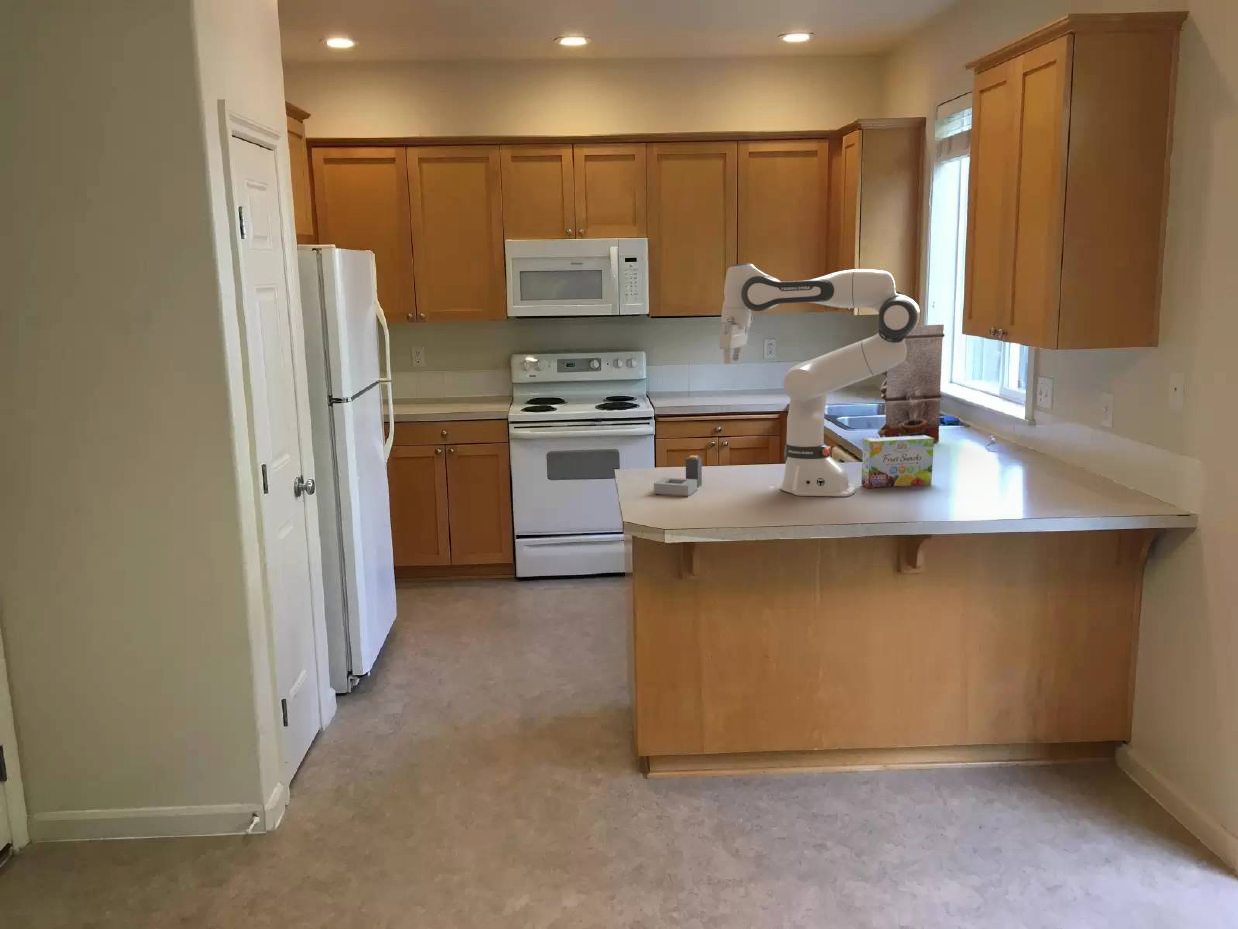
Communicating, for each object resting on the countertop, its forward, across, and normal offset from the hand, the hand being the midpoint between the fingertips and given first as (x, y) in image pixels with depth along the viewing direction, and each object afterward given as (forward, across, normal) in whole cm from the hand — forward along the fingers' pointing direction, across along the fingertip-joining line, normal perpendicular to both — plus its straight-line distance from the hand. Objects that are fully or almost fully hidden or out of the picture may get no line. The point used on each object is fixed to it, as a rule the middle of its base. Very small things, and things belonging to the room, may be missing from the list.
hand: (731, 362), depth 291 cm
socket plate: (+40, -16, +9) cm, 44 cm away
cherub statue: (+35, +93, -46) cm, 109 cm away
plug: (+40, -5, +7) cm, 41 cm away
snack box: (+34, +14, -53) cm, 64 cm away
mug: (+34, +49, -52) cm, 79 cm away
